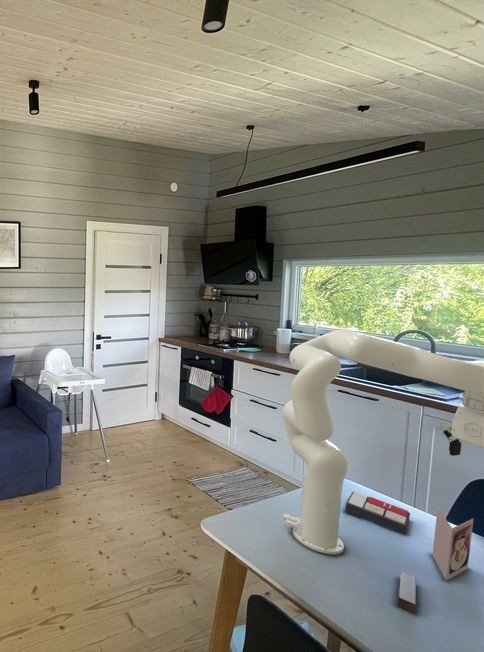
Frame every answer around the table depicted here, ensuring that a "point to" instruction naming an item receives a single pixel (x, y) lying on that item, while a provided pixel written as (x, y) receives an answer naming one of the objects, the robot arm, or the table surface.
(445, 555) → the greeting card
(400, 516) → the calculator
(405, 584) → the walnut bar
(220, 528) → the table surface
